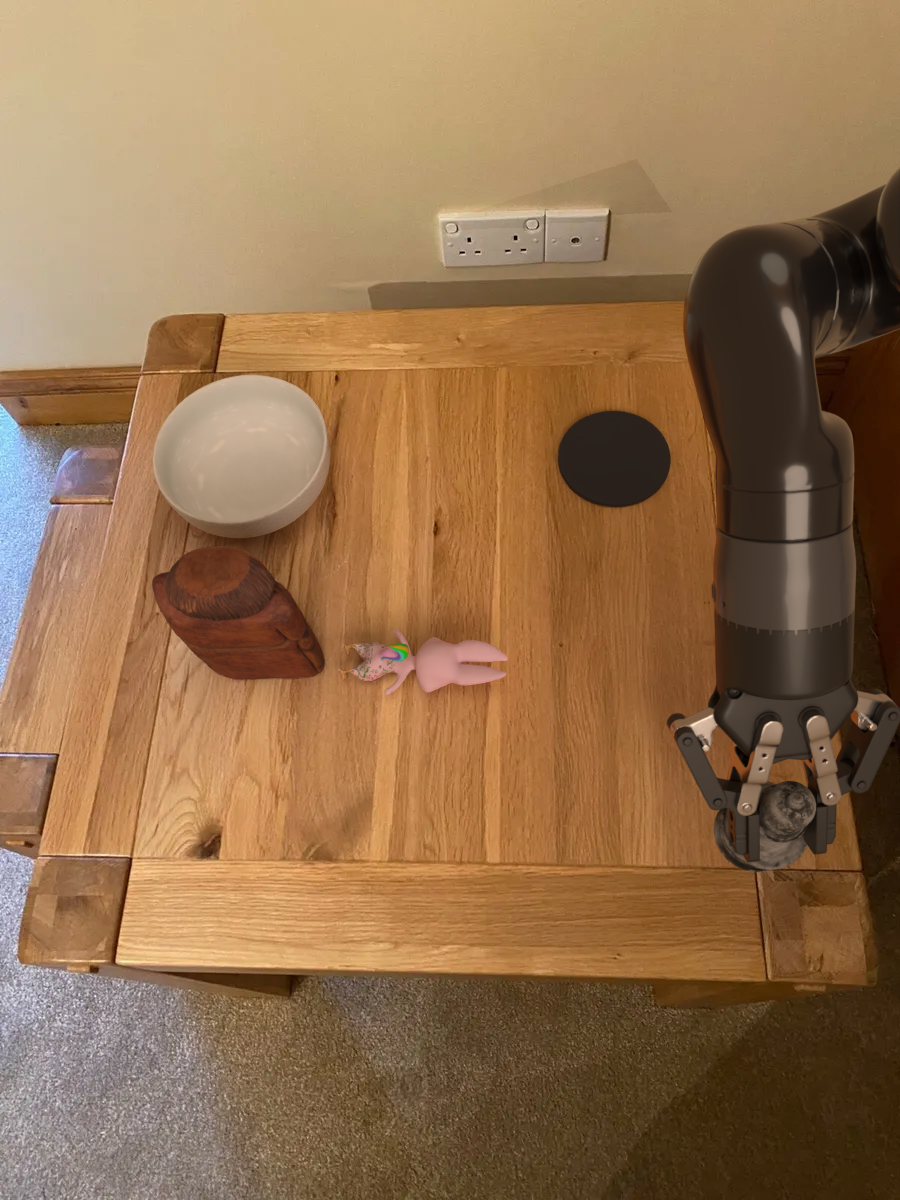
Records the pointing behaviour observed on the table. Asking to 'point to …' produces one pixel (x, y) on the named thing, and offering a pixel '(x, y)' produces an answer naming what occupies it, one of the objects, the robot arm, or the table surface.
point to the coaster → (614, 458)
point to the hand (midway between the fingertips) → (781, 849)
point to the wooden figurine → (237, 616)
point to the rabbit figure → (428, 662)
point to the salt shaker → (773, 827)
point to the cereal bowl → (243, 456)
